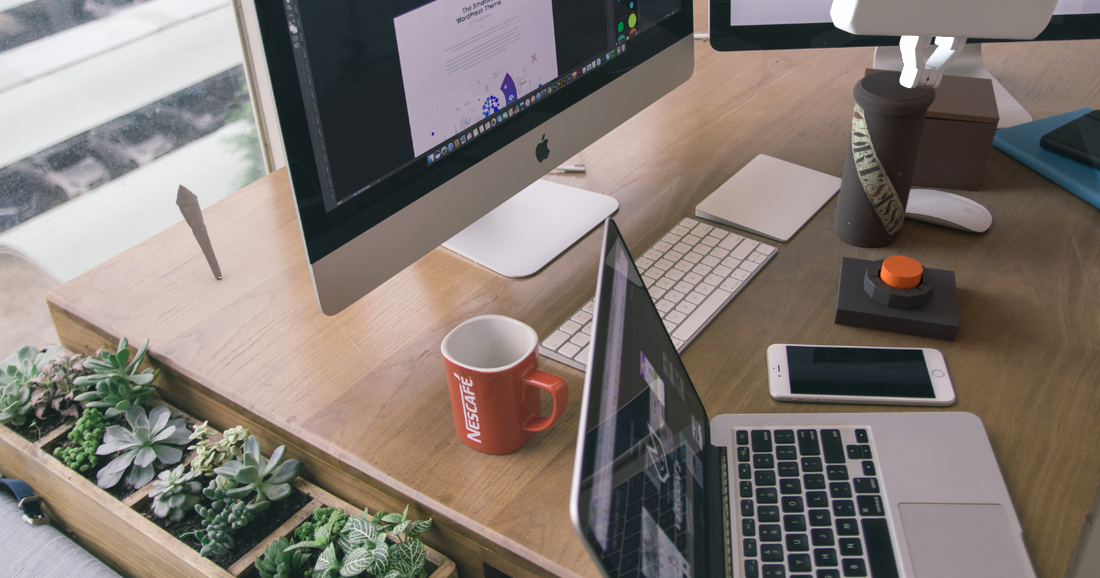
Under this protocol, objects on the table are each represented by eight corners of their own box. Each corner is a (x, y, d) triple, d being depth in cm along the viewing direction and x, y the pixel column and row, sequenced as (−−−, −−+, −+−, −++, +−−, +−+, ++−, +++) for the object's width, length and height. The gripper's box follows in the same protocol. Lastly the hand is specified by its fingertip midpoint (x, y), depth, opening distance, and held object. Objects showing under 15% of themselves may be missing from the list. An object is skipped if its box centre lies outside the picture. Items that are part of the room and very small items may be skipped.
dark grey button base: (834, 324, 85) (839, 295, 83) (839, 271, 92) (844, 243, 90) (954, 342, 81) (963, 313, 79) (950, 286, 89) (958, 257, 86)
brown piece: (861, 110, 103) (862, 104, 102) (864, 73, 112) (865, 67, 111) (997, 124, 98) (1000, 118, 97) (989, 84, 107) (991, 78, 107)
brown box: (854, 179, 109) (866, 114, 103) (858, 139, 118) (869, 77, 112) (977, 191, 104) (998, 124, 98) (971, 148, 113) (989, 84, 107)
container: (820, 238, 98) (844, 88, 86) (843, 205, 104) (869, 60, 92) (890, 257, 94) (926, 102, 82) (911, 221, 99) (947, 72, 87)
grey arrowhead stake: (210, 286, 100) (170, 192, 91) (207, 276, 102) (168, 182, 93) (230, 280, 101) (192, 186, 92) (227, 269, 103) (189, 177, 94)
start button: (879, 287, 84) (882, 274, 83) (880, 266, 87) (883, 253, 86) (919, 292, 83) (923, 279, 82) (919, 271, 86) (922, 258, 84)
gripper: (890, -88, 57) (839, 96, 64) (1102, -71, 63) (1033, 97, 70) (841, -96, 62) (798, 75, 69) (1040, -80, 68) (982, 77, 75)
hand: (918, 86), depth 70 cm, fingers closed
